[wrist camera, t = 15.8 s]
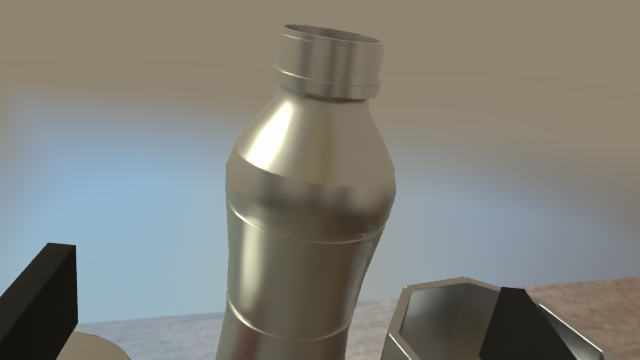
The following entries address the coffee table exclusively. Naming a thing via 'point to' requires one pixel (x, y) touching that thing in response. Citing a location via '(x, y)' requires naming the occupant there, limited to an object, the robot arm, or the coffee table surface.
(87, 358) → the tin can
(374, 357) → the coffee table surface
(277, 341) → the metal bottle
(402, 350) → the saucepan
